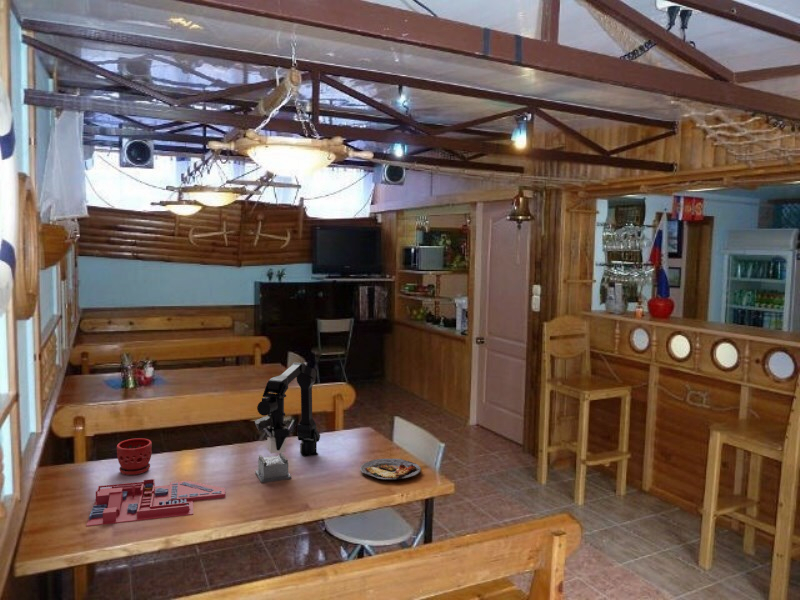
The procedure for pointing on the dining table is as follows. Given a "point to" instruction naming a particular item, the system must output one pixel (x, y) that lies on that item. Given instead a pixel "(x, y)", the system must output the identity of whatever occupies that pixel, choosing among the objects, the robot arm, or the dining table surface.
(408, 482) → the dining table surface
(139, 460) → the plant pot
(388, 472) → the food plate
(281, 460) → the motor housing
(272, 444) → the plain white cube
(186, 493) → the red architectural model
